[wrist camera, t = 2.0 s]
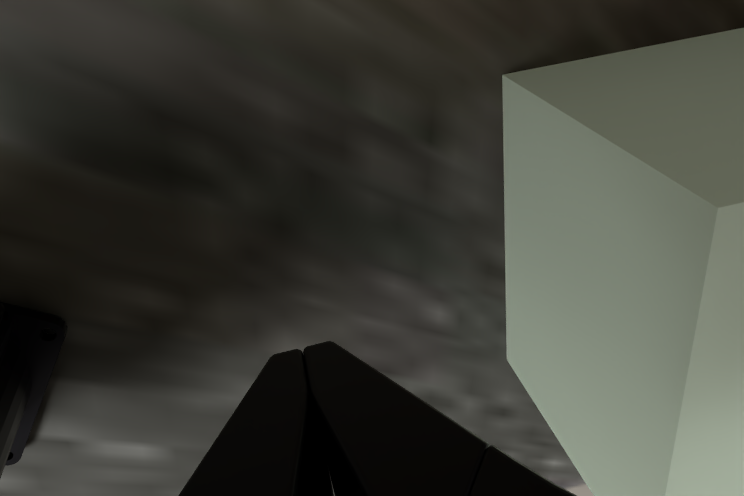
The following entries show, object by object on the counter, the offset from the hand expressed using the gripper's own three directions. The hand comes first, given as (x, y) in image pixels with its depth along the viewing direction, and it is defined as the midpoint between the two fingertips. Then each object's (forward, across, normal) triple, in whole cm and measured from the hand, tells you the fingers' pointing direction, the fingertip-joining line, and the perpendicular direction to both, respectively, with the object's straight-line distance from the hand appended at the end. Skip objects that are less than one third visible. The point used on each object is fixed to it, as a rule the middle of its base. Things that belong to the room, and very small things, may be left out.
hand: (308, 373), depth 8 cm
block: (+12, +12, -6) cm, 18 cm away
